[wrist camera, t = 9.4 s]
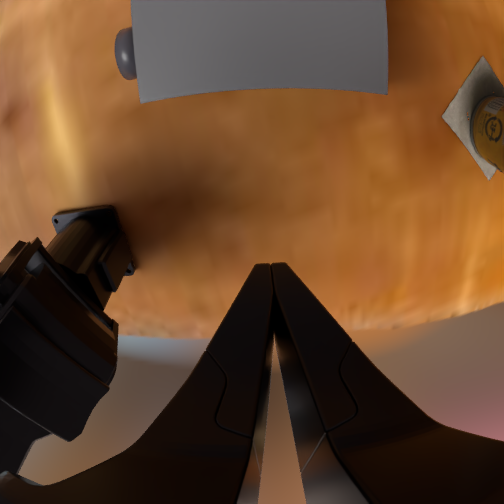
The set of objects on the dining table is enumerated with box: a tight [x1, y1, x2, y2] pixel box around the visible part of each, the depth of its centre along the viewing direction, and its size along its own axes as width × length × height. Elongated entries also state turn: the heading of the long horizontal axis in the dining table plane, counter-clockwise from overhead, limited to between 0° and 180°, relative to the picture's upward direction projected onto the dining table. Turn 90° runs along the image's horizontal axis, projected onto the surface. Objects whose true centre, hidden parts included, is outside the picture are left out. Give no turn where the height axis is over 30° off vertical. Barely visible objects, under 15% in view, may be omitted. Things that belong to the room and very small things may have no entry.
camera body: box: [115, 0, 388, 103], centre depth 10 cm, size 14×9×7 cm, turn 93°
